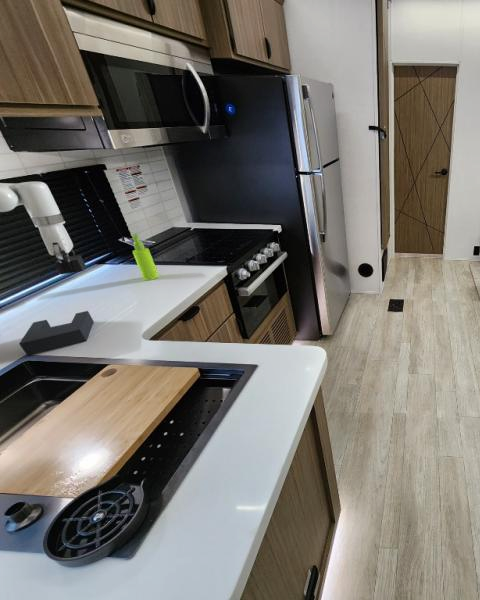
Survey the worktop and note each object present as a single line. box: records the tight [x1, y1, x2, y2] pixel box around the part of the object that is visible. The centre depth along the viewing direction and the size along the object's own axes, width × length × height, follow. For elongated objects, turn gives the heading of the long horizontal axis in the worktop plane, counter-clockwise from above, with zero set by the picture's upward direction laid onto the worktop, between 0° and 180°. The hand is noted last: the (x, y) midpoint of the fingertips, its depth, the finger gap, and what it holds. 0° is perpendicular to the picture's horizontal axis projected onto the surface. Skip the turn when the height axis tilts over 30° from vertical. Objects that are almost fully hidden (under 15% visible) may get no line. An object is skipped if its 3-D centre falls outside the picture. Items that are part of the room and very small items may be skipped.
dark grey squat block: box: [54, 254, 86, 275], centre depth 120 cm, size 6×6×4 cm
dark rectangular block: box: [18, 310, 94, 356], centre depth 107 cm, size 14×14×4 cm
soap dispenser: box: [130, 233, 160, 281], centre depth 146 cm, size 6×7×20 cm
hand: (73, 268), depth 121 cm, fingers closed on dark grey squat block, 6 cm apart
